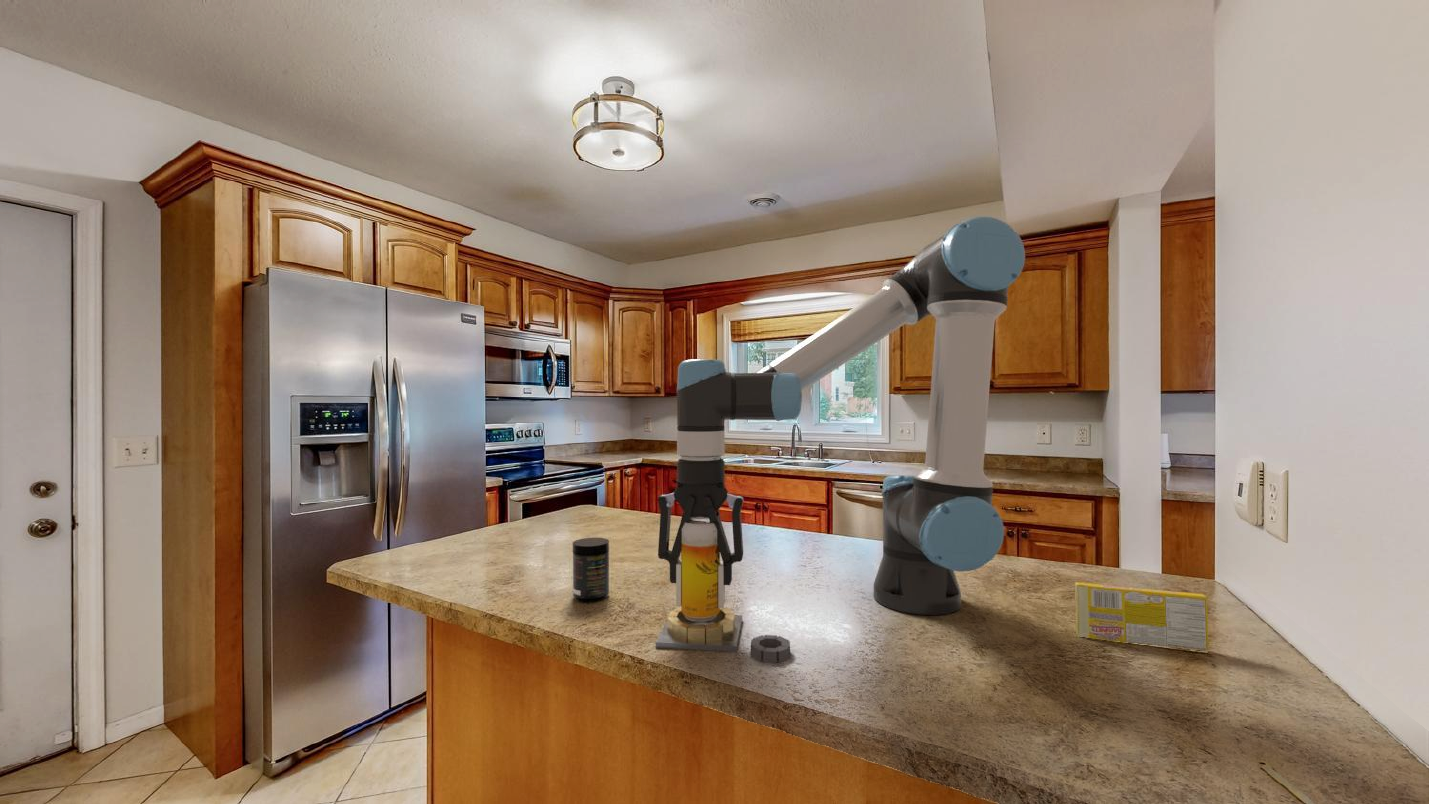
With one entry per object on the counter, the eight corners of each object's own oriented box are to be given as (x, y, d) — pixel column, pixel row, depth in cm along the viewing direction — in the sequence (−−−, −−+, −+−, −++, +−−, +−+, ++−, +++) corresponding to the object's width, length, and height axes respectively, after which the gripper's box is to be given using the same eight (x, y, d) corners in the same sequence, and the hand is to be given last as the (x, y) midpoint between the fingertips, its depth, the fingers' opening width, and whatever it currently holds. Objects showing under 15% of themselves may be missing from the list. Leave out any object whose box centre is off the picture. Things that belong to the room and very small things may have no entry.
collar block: (742, 620, 94) (742, 603, 94) (736, 651, 82) (735, 632, 82) (671, 617, 96) (671, 600, 96) (655, 647, 84) (655, 628, 84)
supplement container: (617, 596, 106) (616, 540, 106) (588, 606, 101) (588, 548, 101) (593, 589, 110) (593, 535, 110) (565, 598, 105) (564, 542, 105)
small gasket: (789, 646, 84) (789, 636, 84) (790, 663, 79) (790, 652, 79) (752, 644, 85) (752, 634, 85) (749, 661, 79) (749, 650, 79)
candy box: (1203, 649, 83) (1203, 593, 83) (1209, 655, 81) (1209, 597, 81) (1074, 633, 89) (1074, 580, 89) (1077, 638, 87) (1077, 584, 87)
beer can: (715, 624, 85) (715, 525, 85) (676, 621, 87) (676, 523, 87) (723, 610, 91) (723, 517, 91) (686, 607, 93) (686, 516, 93)
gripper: (761, 456, 92) (761, 598, 92) (648, 454, 94) (648, 593, 94) (759, 460, 84) (759, 615, 84) (636, 459, 86) (636, 610, 86)
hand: (700, 603), depth 89 cm, fingers closed on beer can, 6 cm apart
